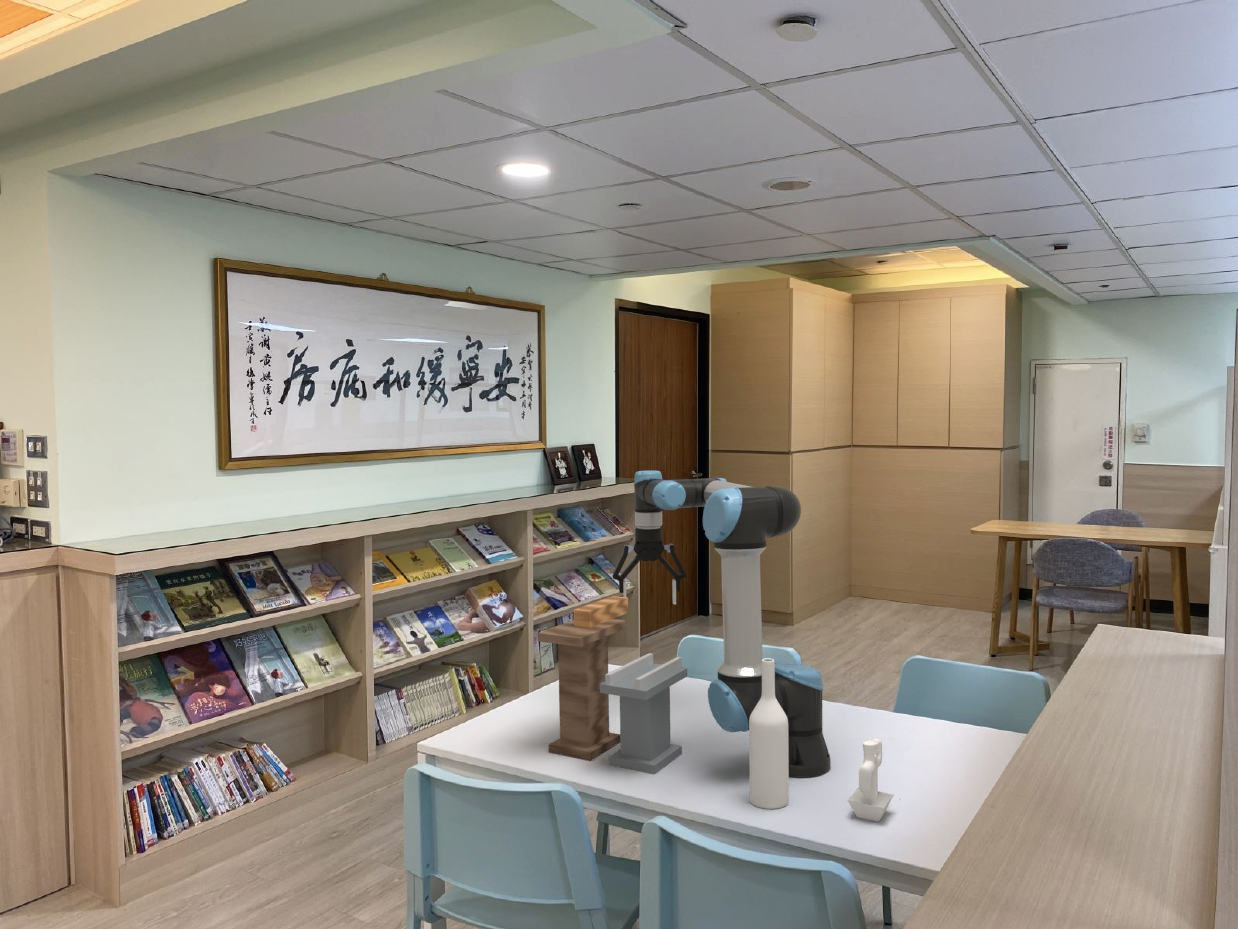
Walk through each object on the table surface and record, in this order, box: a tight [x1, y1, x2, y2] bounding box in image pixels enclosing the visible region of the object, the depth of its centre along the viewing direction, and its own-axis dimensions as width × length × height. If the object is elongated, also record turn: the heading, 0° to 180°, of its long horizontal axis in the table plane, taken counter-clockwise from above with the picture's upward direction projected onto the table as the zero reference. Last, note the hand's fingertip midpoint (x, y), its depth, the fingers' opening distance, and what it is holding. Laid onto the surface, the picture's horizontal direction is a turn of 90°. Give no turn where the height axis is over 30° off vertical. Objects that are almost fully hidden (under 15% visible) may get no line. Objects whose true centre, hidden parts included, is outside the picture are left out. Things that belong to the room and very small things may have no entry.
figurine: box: [847, 737, 894, 823], centre depth 182 cm, size 7×9×15 cm
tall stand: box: [537, 618, 627, 762], centre depth 222 cm, size 21×12×30 cm, turn 150°
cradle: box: [600, 653, 688, 775], centre depth 214 cm, size 21×12×22 cm, turn 150°
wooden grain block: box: [573, 595, 629, 628], centre depth 229 cm, size 19×5×4 cm, turn 150°
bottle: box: [748, 657, 790, 810], centre depth 189 cm, size 8×8×30 cm
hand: (649, 604), depth 250 cm, fingers open, 13 cm apart
